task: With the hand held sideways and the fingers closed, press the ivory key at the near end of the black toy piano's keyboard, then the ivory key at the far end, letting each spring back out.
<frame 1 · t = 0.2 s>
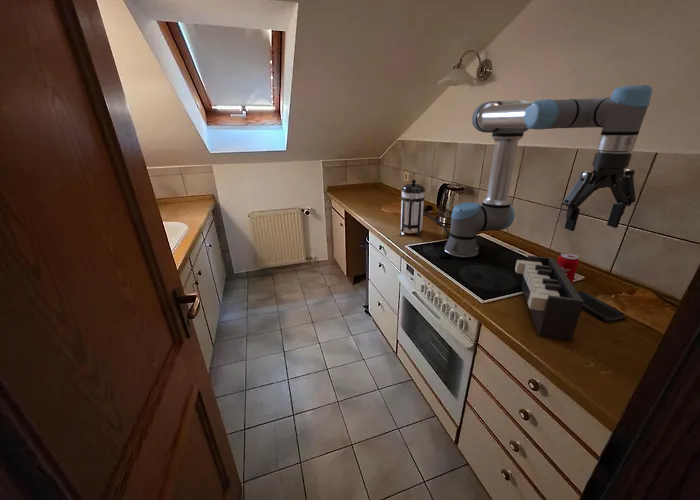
hand: (590, 228, 87), 28 cm above the worktop, tool pointing down, fingers open, 13 cm apart
phone: (592, 307, 98), on the worktop
coffee press: (411, 233, 168), on the worktop
key far: (528, 267, 105), point 9 cm above the worktop, slide at 0.0 cm
key near: (544, 302, 85), point 9 cm above the worktop, slide at 0.0 cm
piano: (542, 310, 97), on the worktop
beverage can: (561, 285, 112), on the worktop
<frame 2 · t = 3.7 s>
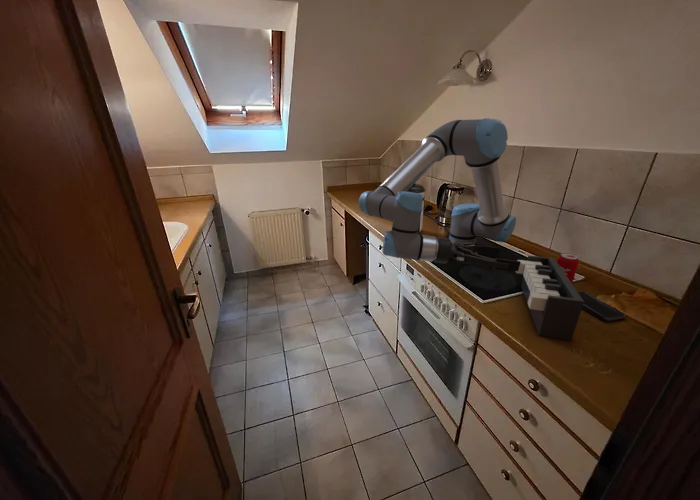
hand: (508, 258, 87), 20 cm above the worktop, tool horizontal, fingers open, 13 cm apart
nothing on the worktop moved.
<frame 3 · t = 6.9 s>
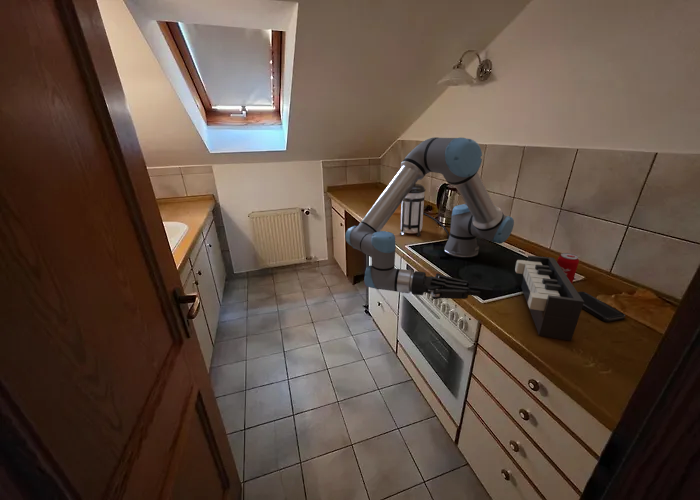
hand: (491, 293, 89), 10 cm above the worktop, tool horizontal, fingers closed
nothing on the worktop moved.
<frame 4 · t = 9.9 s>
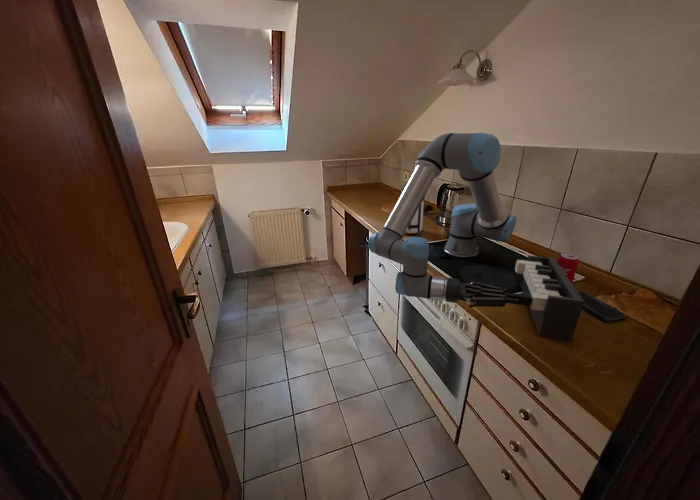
hand: (530, 300, 86), 9 cm above the worktop, tool horizontal, fingers closed
key near: (546, 302, 85), point 9 cm above the worktop, slide at 0.4 cm, touching gripper
everything else where it was.
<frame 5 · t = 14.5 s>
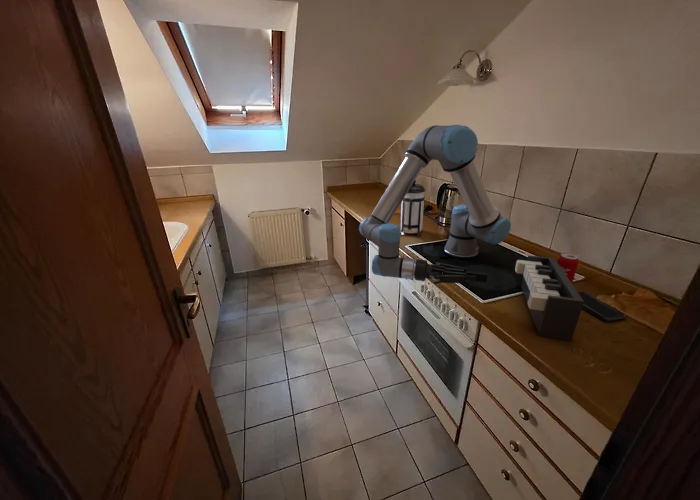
hand: (486, 277, 100), 9 cm above the worktop, tool horizontal, fingers closed
key near: (544, 302, 85), point 9 cm above the worktop, slide at -0.1 cm
everything else where it was.
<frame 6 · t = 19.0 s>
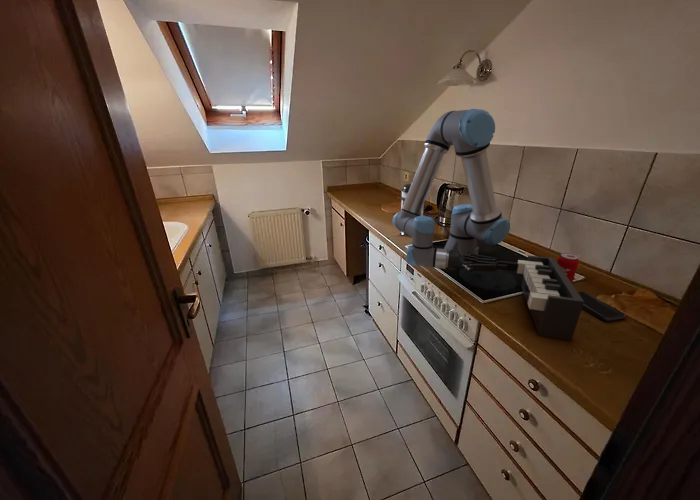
hand: (516, 266, 106), 9 cm above the worktop, tool horizontal, fingers closed
key far: (529, 267, 105), point 9 cm above the worktop, slide at 0.3 cm, touching gripper
everything else where it was.
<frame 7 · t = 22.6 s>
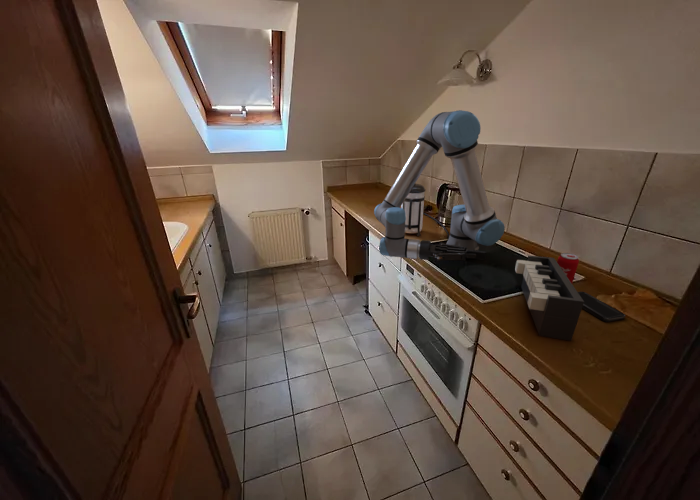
hand: (485, 255, 108), 13 cm above the worktop, tool horizontal, fingers closed
key far: (528, 267, 105), point 9 cm above the worktop, slide at -0.1 cm
everything else where it was.
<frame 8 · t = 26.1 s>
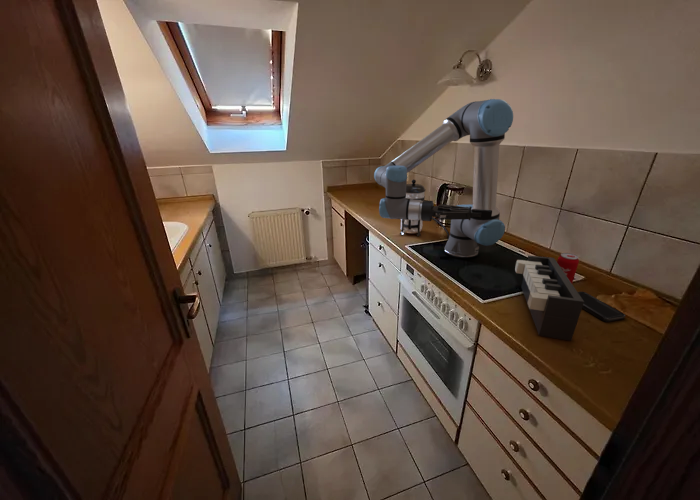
hand: (491, 214, 102), 28 cm above the worktop, tool horizontal, fingers closed
nothing on the worktop moved.
at the end: key near pulled out 1.8 cm at the most during the clip, back to where it started at the end; key far pulled out 1.9 cm at the most during the clip, back to where it started at the end; key far slide at -0.1 cm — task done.
